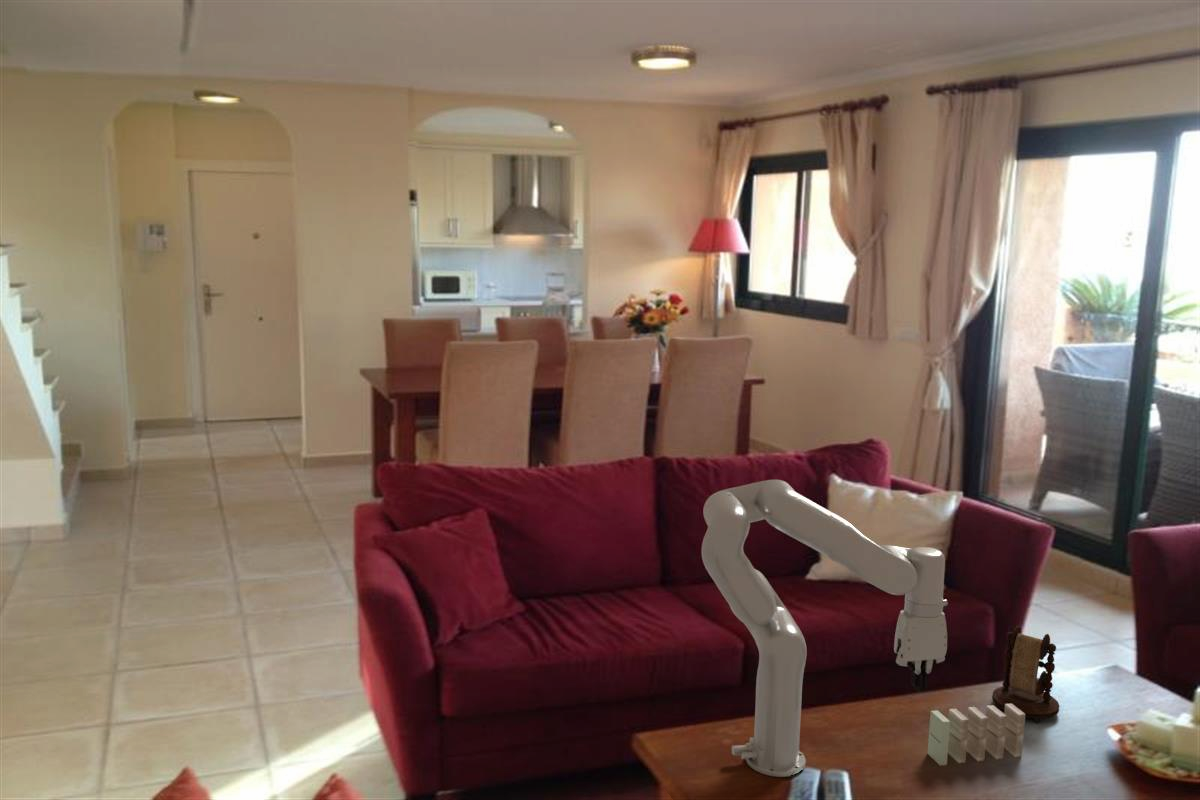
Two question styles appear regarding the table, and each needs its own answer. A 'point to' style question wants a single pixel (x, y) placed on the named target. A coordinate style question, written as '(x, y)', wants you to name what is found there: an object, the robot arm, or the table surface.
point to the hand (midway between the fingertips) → (918, 688)
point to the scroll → (1027, 676)
